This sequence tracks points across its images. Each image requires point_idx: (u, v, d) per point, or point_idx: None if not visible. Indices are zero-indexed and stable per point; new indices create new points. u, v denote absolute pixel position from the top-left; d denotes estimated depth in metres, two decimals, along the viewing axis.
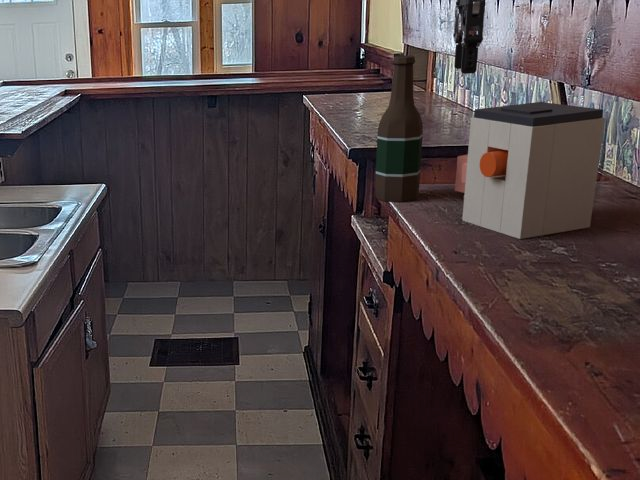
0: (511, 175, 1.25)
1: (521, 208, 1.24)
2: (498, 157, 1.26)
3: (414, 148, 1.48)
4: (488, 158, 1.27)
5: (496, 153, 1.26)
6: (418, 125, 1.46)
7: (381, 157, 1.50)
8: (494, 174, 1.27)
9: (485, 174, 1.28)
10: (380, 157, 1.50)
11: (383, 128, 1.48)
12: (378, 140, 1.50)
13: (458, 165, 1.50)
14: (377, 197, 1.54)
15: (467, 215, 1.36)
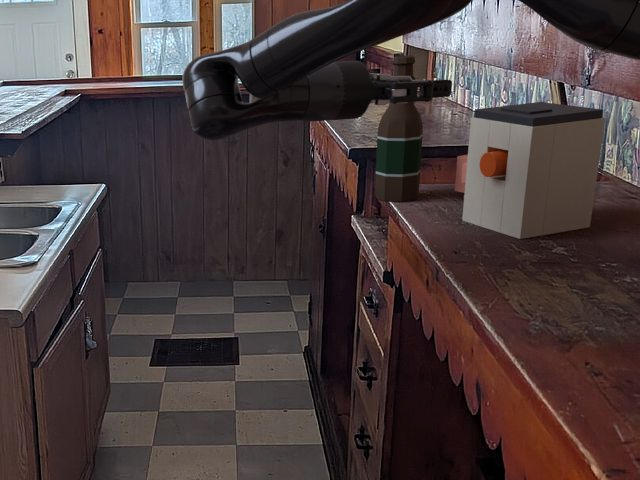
0: (511, 175, 1.25)
1: (521, 208, 1.24)
2: (498, 157, 1.26)
3: (414, 148, 1.48)
4: (488, 158, 1.27)
5: (496, 153, 1.26)
6: (418, 125, 1.46)
7: (381, 157, 1.50)
8: (494, 174, 1.27)
9: (485, 174, 1.28)
10: (380, 157, 1.50)
11: (383, 128, 1.48)
12: (378, 140, 1.50)
13: (458, 165, 1.50)
14: (377, 197, 1.54)
15: (467, 215, 1.36)
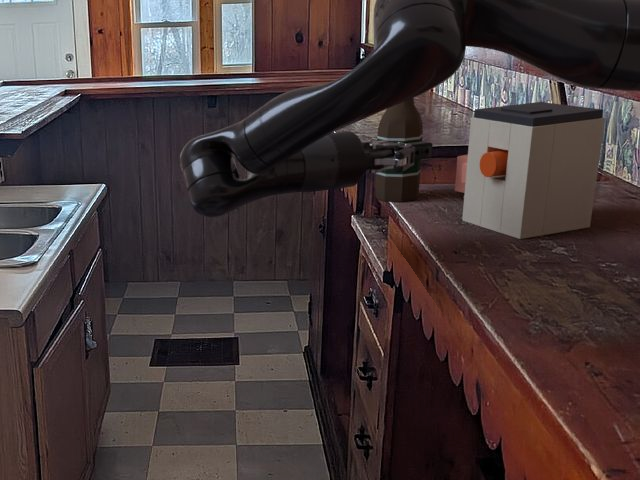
0: (511, 175, 1.25)
1: (521, 208, 1.24)
2: (498, 157, 1.26)
3: None
4: (488, 158, 1.27)
5: (496, 153, 1.26)
6: (418, 125, 1.46)
7: None
8: (494, 174, 1.27)
9: (485, 174, 1.28)
10: None
11: (383, 128, 1.48)
12: (378, 140, 1.50)
13: (458, 165, 1.50)
14: (377, 197, 1.54)
15: (467, 215, 1.36)
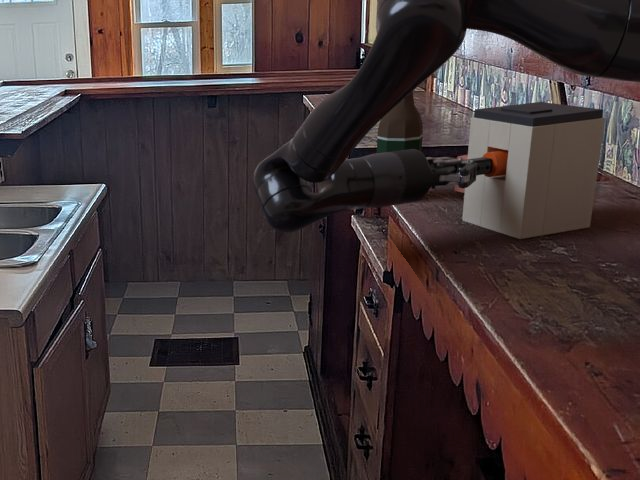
0: (511, 175, 1.25)
1: (521, 208, 1.24)
2: (499, 157, 1.26)
3: (414, 148, 1.48)
4: None
5: (497, 153, 1.26)
6: (418, 125, 1.46)
7: None
8: (495, 174, 1.27)
9: (486, 174, 1.28)
10: None
11: (383, 128, 1.48)
12: (378, 140, 1.50)
13: None
14: None
15: (467, 215, 1.36)
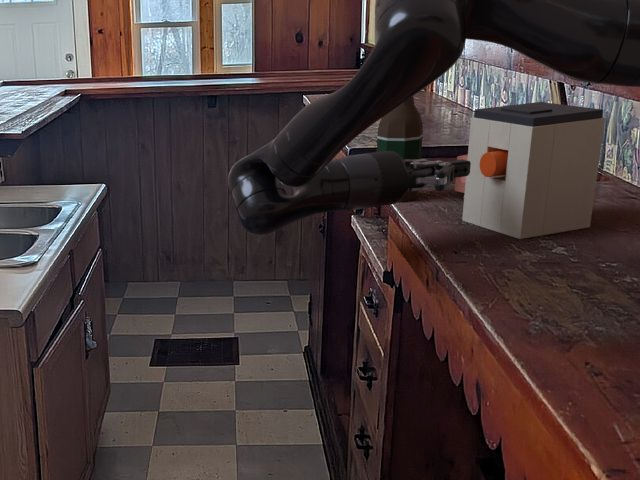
0: (511, 175, 1.25)
1: (521, 208, 1.24)
2: (498, 157, 1.26)
3: (414, 148, 1.48)
4: (488, 158, 1.27)
5: (496, 153, 1.26)
6: (418, 125, 1.46)
7: None
8: (494, 174, 1.27)
9: (485, 174, 1.28)
10: None
11: (383, 128, 1.48)
12: (378, 140, 1.50)
13: None
14: None
15: (467, 215, 1.36)
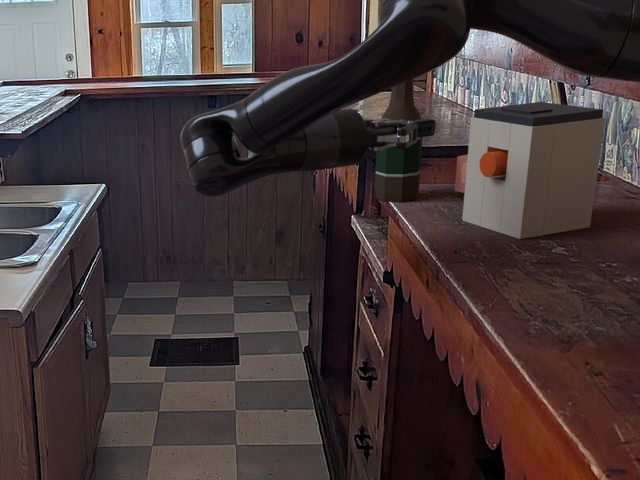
0: (511, 175, 1.25)
1: (521, 208, 1.24)
2: (498, 157, 1.26)
3: (414, 148, 1.48)
4: (488, 158, 1.27)
5: (496, 153, 1.26)
6: None
7: (381, 157, 1.50)
8: (494, 174, 1.27)
9: (485, 174, 1.28)
10: (380, 157, 1.50)
11: None
12: None
13: (458, 165, 1.50)
14: (377, 197, 1.54)
15: (467, 215, 1.36)
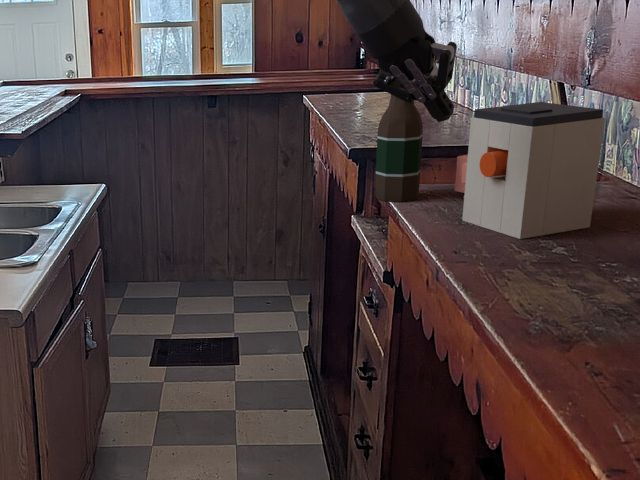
0: (511, 175, 1.25)
1: (521, 208, 1.24)
2: (498, 157, 1.26)
3: (414, 148, 1.48)
4: (488, 158, 1.27)
5: (496, 153, 1.26)
6: (418, 125, 1.46)
7: (381, 157, 1.50)
8: (494, 174, 1.27)
9: (485, 174, 1.28)
10: (380, 157, 1.50)
11: (383, 128, 1.48)
12: (378, 140, 1.50)
13: (458, 165, 1.50)
14: (377, 197, 1.54)
15: (467, 215, 1.36)
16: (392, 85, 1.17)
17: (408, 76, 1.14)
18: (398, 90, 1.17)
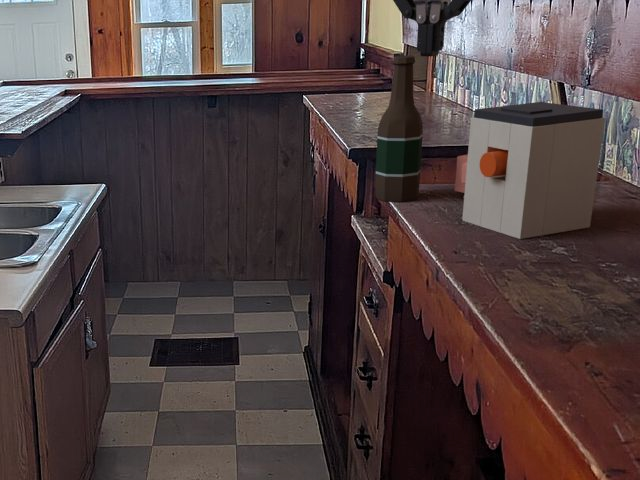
0: (511, 175, 1.25)
1: (521, 208, 1.24)
2: (498, 157, 1.26)
3: (414, 148, 1.48)
4: (488, 158, 1.27)
5: (496, 153, 1.26)
6: (418, 125, 1.46)
7: (381, 157, 1.50)
8: (494, 174, 1.27)
9: (485, 174, 1.28)
10: (380, 157, 1.50)
11: (383, 128, 1.48)
12: (378, 140, 1.50)
13: (458, 165, 1.50)
14: (377, 197, 1.54)
15: (467, 215, 1.36)
16: None
17: None
18: None
